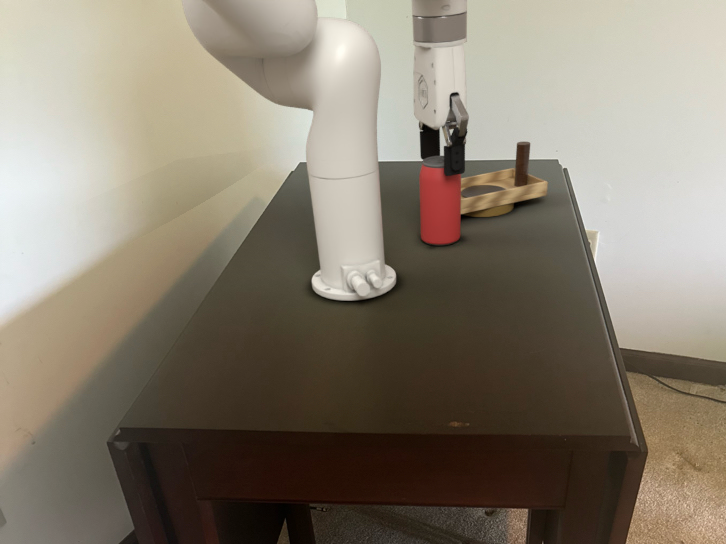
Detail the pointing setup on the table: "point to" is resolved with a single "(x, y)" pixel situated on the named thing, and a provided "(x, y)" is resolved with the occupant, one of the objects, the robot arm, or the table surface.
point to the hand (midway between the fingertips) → (442, 166)
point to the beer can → (439, 203)
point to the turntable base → (491, 211)
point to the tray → (502, 185)
